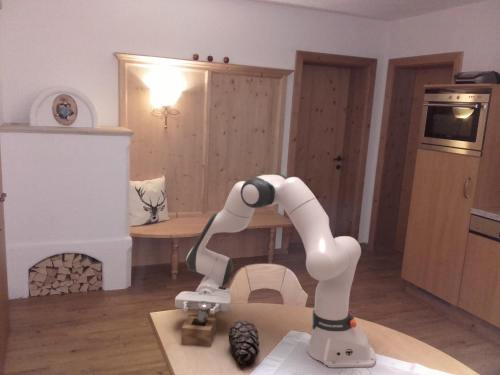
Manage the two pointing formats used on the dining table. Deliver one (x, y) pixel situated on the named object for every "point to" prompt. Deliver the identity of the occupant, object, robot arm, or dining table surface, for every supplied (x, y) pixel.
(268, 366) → the dining table surface
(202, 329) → the socket block
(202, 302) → the pin
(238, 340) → the pine cone
